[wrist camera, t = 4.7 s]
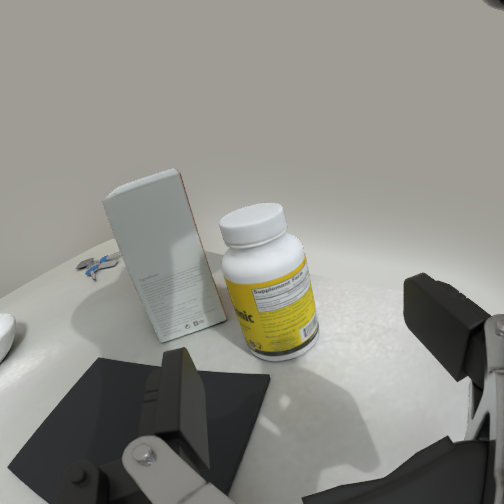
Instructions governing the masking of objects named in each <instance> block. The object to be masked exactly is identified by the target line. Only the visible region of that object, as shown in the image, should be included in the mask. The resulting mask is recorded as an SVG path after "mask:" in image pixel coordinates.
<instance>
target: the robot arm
mask: <svg viewBox="0 0 504 504" xmlns="http://www.w3.org/2000/svg"><path fill="white" fill-rule="evenodd" d="M483 1H484V2H485V3H486V4H487V5H488V6H490V7H492V8H495V9H498V10H502V11H504V0H483ZM403 314H404V320H405V323H406V325H407V327H408V329H409V330H410V331H411V332H412V333H413V334H414V335H415V336H416V337H417V338H418V339H419V340H420V342H421V343H422V344H423V345H424V346H425V347H426V348H427V349H428V350H429V351H430V352H431V353H432V355H433V356H434V357H435V358H436V359H437V360H438V361H439V362H440V363H441V364H442V366H443V367H444V368H445V369H446V370H447V371H448V372H449V373H450V375H451V376H452V377H453V378H454V379H455V380H456V381H457V382H458V381H460V380H462V379H463V378H465V377H467V376H469V378H470V379H471V380H470V384H469V407H468V423H467V431H466V435H465V438H464V441H459V442H454V443H453V442H452V441H451V439H450V438H449V436H446V437H444V438H443V439H441V440H439V441H437V442H436V443H434V444H432V445H430V446H428V447H426V448H425V449H423V450H421V451H419V452H417V453H416V454H414V455H413V456H412V457H411V458H409V459H408V460H407V461H406V462H404V463H403V464H402V465H401V466H399V467H398V468H397V469H395V470H394V471H393V472H392V473H390V474H389V475H387V476H386V477H384V478H381V479H376V480H371V481H365V482H359V483H353V484H346V485H340V486H337V487H334V488H331V489H328V490H325V491H322V492H319V493H316V494H312V495H309V496H306V497H302V501H303V504H504V314H498V315H494V316H491V315H489V314H488V313H487V312H486V311H484V310H483V309H482V308H481V307H479V306H478V305H477V304H475V303H474V302H473V301H471V300H470V299H469V298H466V296H465V295H463V294H462V293H459V291H458V290H457V289H455V288H454V287H452V286H451V285H450V284H447V283H444V282H441V281H435V280H434V279H432V278H431V277H430V276H428V275H427V274H425V273H420V274H418V275H415V276H413V277H410V278H407V279H405V281H404V311H403ZM143 402H144V403H143V404H142V411H141V418H140V425H139V432H138V438H137V439H135V440H134V441H132V442H131V443H130V444H129V445H128V446H127V447H126V449H125V450H124V452H123V456H122V458H120V459H118V460H116V461H113V462H110V463H107V464H104V465H101V466H97V465H96V464H95V463H94V462H93V461H91V460H89V459H77V460H75V461H73V462H71V463H70V464H69V465H67V467H66V468H65V469H64V471H63V473H62V476H61V480H60V486H59V491H58V497H57V503H56V504H236V503H235V502H234V501H232V500H231V499H230V498H229V497H227V496H226V495H225V494H224V493H222V492H221V491H220V490H219V489H218V488H216V487H215V486H214V485H213V484H211V483H210V482H209V481H206V480H204V479H203V478H202V477H201V476H200V475H199V472H201V471H207V470H210V466H209V452H208V437H207V420H206V401H205V390H204V386H203V383H202V380H201V378H200V375H199V373H198V371H197V369H196V367H195V365H194V363H193V361H192V359H191V357H190V355H189V353H188V351H187V349H186V348H185V347H183V348H179V349H175V350H170V351H166V352H164V353H163V359H162V366H161V368H156V369H153V371H152V372H151V374H150V375H149V377H148V379H147V380H146V386H145V394H144V398H143Z"/></svg>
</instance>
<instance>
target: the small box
mask: <svg viewBox="0 0 504 504" xmlns="http://www.w3.org/2000/svg"><path fill="white" fill-rule="evenodd" d="M102 202H103V205H104V208H105V211H106V214H107V217H108V220H109V222H110V225H111V228H112V231H113V233H114V236H115V239H116V242H117V244H118V247H119V249H120V252H121V255H122V257H123V260H124V262H125V264H126V267H127V269H128V271H129V274H130V276H131V278H132V281H133V283H134V285H135V288H136V290H137V292H138V294H139V297H140V299H141V301H142V304H143V306H144V308H145V310H146V313H147V315H148V317H149V320H150V322H151V324H152V326H153V328H154V330H155V332H156V334H157V336H158V339H159V341H160V342H161V343H162V342H166V341H169V340H172V339H175V338H178V337H181V336H184V335H187V334H190V333H192V332H195V331H198V330H201V329H204V328H207V327H209V326H212V325H215V324H217V323H220V322H223V321H225V320H227V317H226V314H225V312H224V309H223V305H222V302H221V300H220V297H219V294H218V291H217V288H216V285H215V282H214V279H213V277H212V274H211V271H210V268H209V265H208V262H207V258H206V255H205V252H204V249H203V246H202V243H201V240H200V237H199V234H198V230H197V227H196V224H195V221H194V217H193V214H192V211H191V208H190V204H189V201H188V197H187V194H186V191H185V187H184V184H183V180H182V177H181V174H180V173H179V172H178V170H176V169H175V168H173V169H169V170H166V171H163V172H160V173H157V174H154V175H151V176H148V177H145V178H142V179H139V180H136V181H133V182H131V183H128V184H125V185H122V186H120V187H117V188H116V189H115V190H114V191H112V192H111V193H110V194H108V196H107V197H106V198H105V199H104V200H103V201H102Z"/></svg>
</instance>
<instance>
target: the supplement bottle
mask: <svg viewBox="0 0 504 504" xmlns="http://www.w3.org/2000/svg"><path fill="white" fill-rule="evenodd" d="M219 226H220V229H221V233H222V236H223V240H224V241H225V244H226V245H227V246H228V247H230V248H229V249H228V251H227V252H226V253H225V254H224V256H223V259H222V263H221V266H222V271H223V275H224V279H225V281H226V284H227V288H228V291H229V294H230V297H231V300H232V303H233V305H234V308H235V311H236V314H237V317H238V320H239V322H240V325H241V328H242V331H243V333H244V336H245V339H246V342H247V344H248V347H249V349H250V350H251V352H252V353H253V354H254V355H256V356H257V357H259V358H261V359H264V360H268V361H284V360H289V359H292V358H295V357H297V356H300V355H301V354H303V353H305V352H306V351H308V350H309V349H310V348H311V347H312V346H313V345H314V343H315V342H316V340H317V338H318V335H319V325H318V318H317V313H316V308H315V302H314V297H313V292H312V287H311V281H310V276H309V271H308V266H307V261H306V256H305V252H304V248H303V245H302V243H301V242H300V240H299V239H298V238H296V237H295V236H293V235H291V234H288V233H285V232H286V230H287V222H286V219H285V214H284V210H283V208H282V206H281V205H280V204H277V203H260V204H255V205H250V206H246V207H243V208H240V209H238V210H235V211H233V212H231V213H229V214H227V215H226V216H224V217H223V218H222V219H221V220H220V222H219Z"/></svg>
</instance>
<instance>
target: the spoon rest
mask: <svg viewBox="0 0 504 504" xmlns="http://www.w3.org/2000/svg"><path fill="white" fill-rule="evenodd" d="M15 329H16V320H15V317H14V316H13V315H11V314H0V363H1V362H2V361H3V359H4V358H5V357H6V355H7V353H8V351H9V350H10V348H11V346H12V343H13V340H14V337H15Z"/></svg>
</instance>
